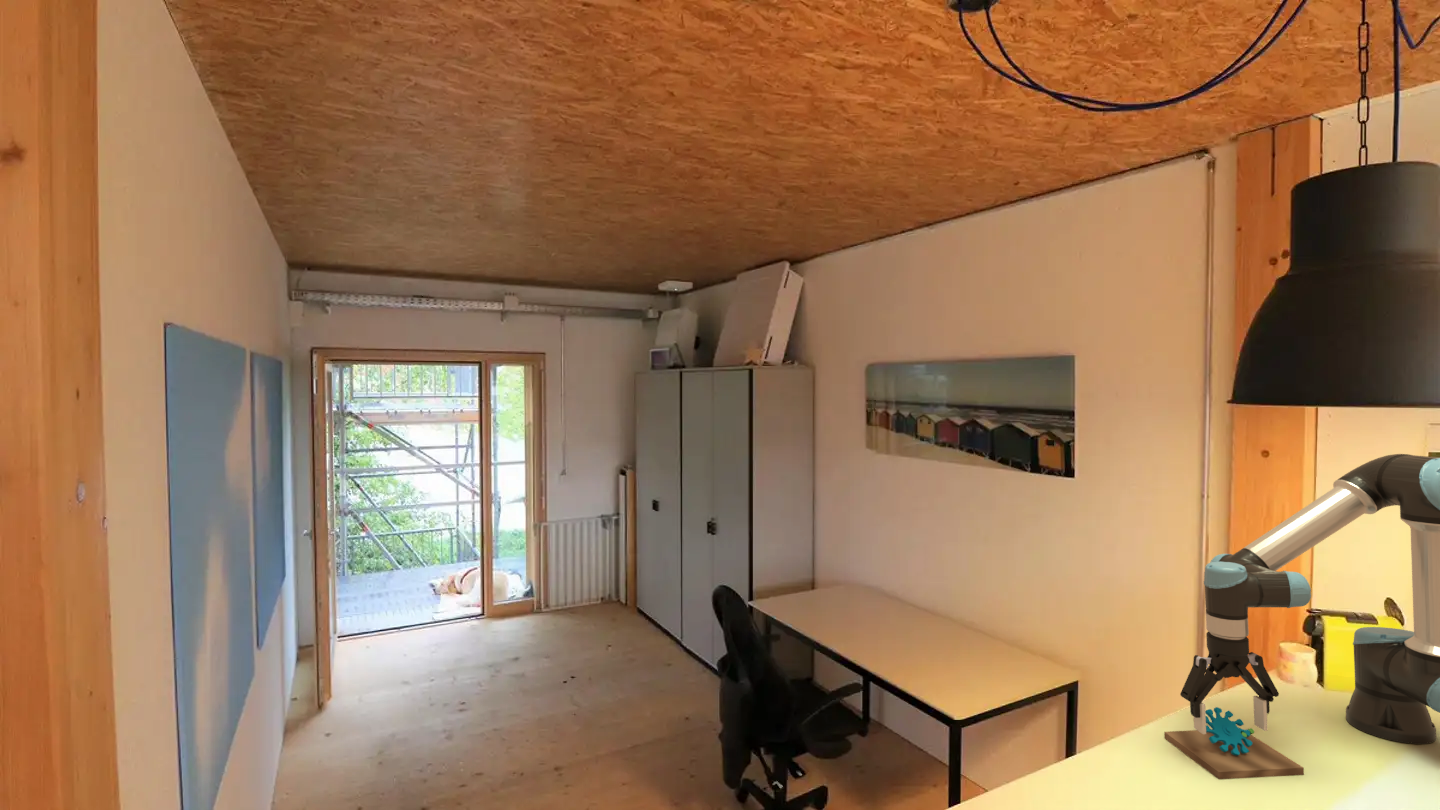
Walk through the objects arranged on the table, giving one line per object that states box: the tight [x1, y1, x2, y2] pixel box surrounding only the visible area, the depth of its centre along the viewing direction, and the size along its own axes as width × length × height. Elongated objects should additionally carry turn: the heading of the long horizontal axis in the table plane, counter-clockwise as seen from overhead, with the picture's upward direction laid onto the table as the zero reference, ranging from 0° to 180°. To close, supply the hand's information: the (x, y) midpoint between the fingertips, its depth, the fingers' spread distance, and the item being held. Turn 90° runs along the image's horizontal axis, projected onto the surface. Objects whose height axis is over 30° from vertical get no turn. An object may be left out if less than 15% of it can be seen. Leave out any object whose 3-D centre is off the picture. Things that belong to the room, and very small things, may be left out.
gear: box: [1205, 706, 1255, 756], centre depth 153 cm, size 11×6×10 cm
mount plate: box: [1164, 729, 1305, 780], centre depth 151 cm, size 18×17×2 cm
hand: (1230, 729), depth 151 cm, fingers open, 13 cm apart
